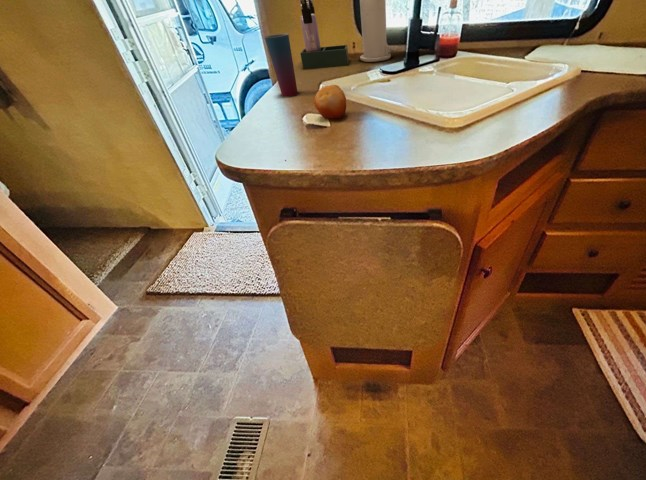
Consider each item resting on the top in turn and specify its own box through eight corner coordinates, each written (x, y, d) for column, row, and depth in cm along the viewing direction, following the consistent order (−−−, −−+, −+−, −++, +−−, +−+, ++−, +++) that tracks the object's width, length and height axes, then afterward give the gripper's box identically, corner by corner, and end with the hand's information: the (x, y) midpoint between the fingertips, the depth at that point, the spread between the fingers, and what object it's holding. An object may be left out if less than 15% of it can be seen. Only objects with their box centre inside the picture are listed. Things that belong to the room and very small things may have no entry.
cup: (298, 96, 97) (285, 36, 86) (277, 98, 97) (261, 38, 87) (302, 90, 102) (290, 32, 91) (281, 91, 102) (267, 34, 92)
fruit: (353, 103, 83) (345, 78, 75) (347, 129, 81) (338, 105, 74) (325, 103, 85) (314, 78, 77) (319, 128, 83) (307, 105, 76)
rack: (348, 60, 130) (347, 44, 126) (347, 65, 123) (345, 49, 119) (306, 64, 130) (303, 48, 127) (303, 69, 124) (300, 53, 120)
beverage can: (323, 60, 128) (316, 13, 118) (322, 63, 124) (314, 14, 113) (308, 61, 128) (300, 14, 118) (307, 65, 124) (298, 16, 114)
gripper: (305, -46, 99) (317, 23, 111) (312, -45, 111) (322, 17, 123) (282, -43, 99) (296, 26, 111) (292, -42, 111) (303, 20, 123)
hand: (310, 21), depth 117 cm, fingers open, 9 cm apart
